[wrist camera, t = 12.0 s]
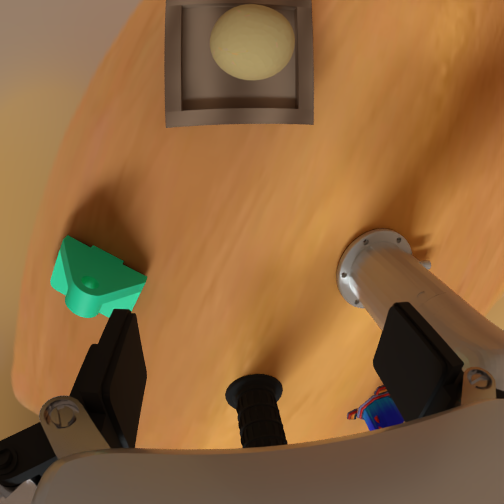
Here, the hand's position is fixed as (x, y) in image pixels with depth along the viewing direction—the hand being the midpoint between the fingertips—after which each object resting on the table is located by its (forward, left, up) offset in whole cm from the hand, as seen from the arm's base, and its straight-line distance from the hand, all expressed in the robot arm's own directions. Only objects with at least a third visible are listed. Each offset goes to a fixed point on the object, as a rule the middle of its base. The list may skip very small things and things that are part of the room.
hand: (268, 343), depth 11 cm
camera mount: (+18, +11, -30) cm, 36 cm away
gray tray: (-1, -14, -29) cm, 32 cm away
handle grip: (-3, +36, -29) cm, 47 cm away
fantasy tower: (-30, +47, -29) cm, 64 cm away
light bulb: (-2, -14, -23) cm, 27 cm away
